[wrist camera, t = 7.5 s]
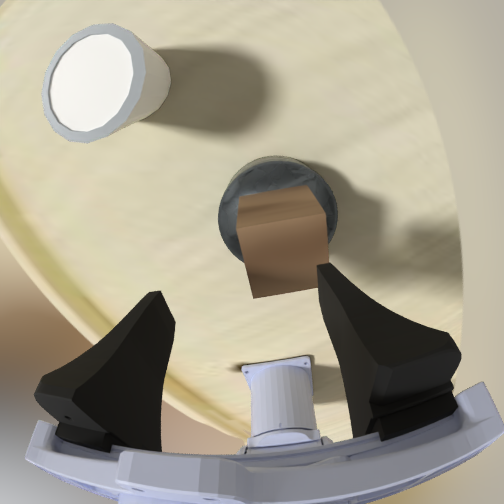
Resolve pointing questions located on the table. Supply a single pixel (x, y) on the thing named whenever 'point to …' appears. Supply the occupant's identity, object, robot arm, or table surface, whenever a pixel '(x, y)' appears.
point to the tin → (267, 179)
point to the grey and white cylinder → (102, 83)
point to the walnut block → (282, 240)
